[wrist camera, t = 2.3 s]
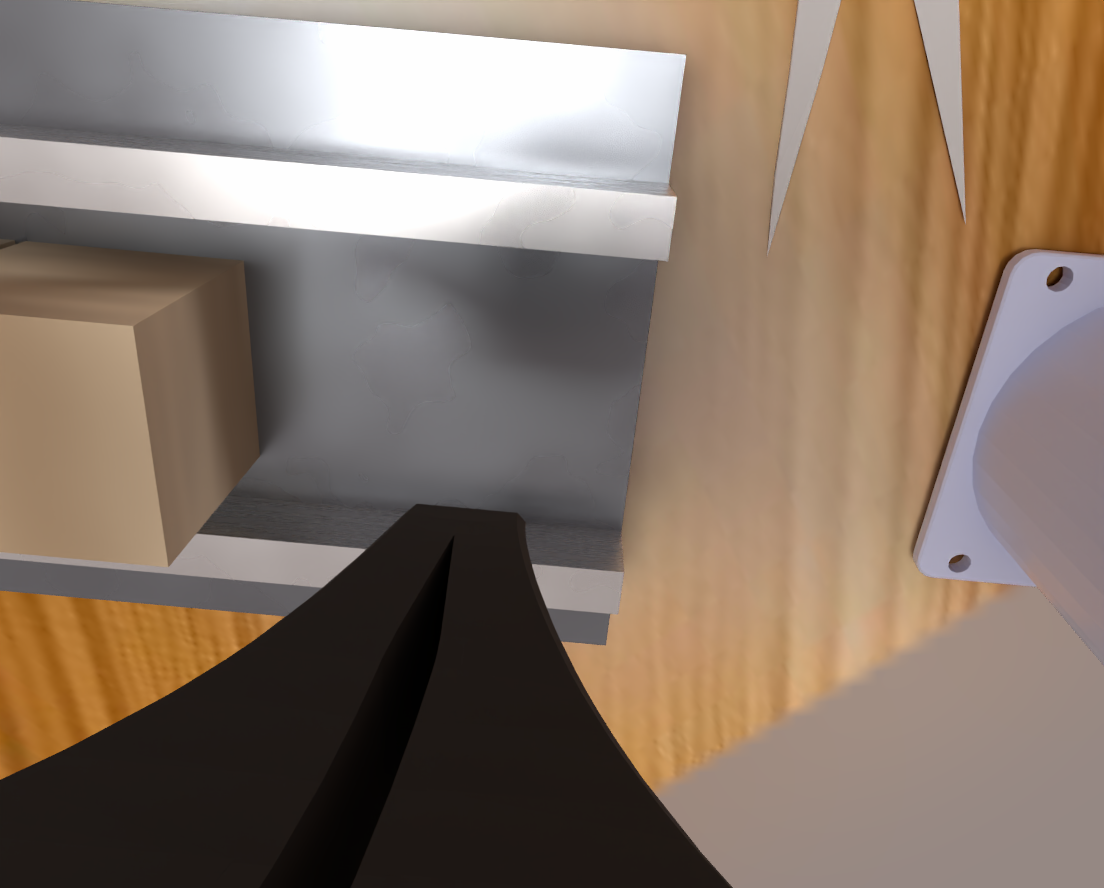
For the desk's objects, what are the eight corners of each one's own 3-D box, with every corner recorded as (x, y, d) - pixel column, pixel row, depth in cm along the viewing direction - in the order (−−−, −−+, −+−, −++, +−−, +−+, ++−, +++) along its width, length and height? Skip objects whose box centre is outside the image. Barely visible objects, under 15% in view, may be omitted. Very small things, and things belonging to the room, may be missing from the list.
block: (243, 260, 15) (133, 326, 11) (260, 456, 17) (168, 566, 13) (25, 241, 15) (-155, 300, 11) (64, 438, 17) (-82, 544, 13)
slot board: (669, 55, 16) (697, 54, 12) (603, 569, 21) (606, 692, 17) (-149, -18, 16) (-403, -43, 12) (-14, 513, 21) (-158, 622, 17)
